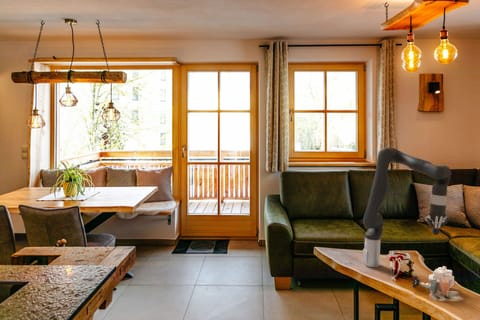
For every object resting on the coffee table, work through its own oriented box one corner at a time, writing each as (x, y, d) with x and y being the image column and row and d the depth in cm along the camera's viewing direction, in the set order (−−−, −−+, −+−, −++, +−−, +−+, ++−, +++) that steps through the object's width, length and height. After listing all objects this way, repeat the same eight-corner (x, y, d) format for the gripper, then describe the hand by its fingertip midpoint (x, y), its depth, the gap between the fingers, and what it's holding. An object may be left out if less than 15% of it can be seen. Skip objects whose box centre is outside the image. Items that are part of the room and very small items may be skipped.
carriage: (444, 297, 184) (445, 283, 184) (438, 292, 190) (439, 279, 189) (450, 297, 184) (451, 283, 184) (444, 292, 190) (445, 279, 189)
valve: (440, 293, 192) (416, 285, 201) (441, 281, 192) (417, 274, 201) (435, 297, 188) (411, 289, 197) (436, 284, 187) (412, 277, 196)
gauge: (436, 301, 183) (437, 285, 182) (429, 295, 190) (429, 279, 189) (463, 301, 184) (464, 284, 183) (455, 295, 190) (456, 279, 189)
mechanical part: (438, 282, 206) (439, 261, 205) (457, 291, 195) (459, 269, 194) (423, 285, 202) (424, 264, 201) (442, 294, 191) (443, 272, 190)
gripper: (429, 204, 191) (426, 236, 193) (454, 204, 192) (451, 237, 193) (422, 201, 199) (419, 232, 201) (446, 201, 199) (443, 232, 201)
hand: (435, 234), depth 197 cm, fingers closed
